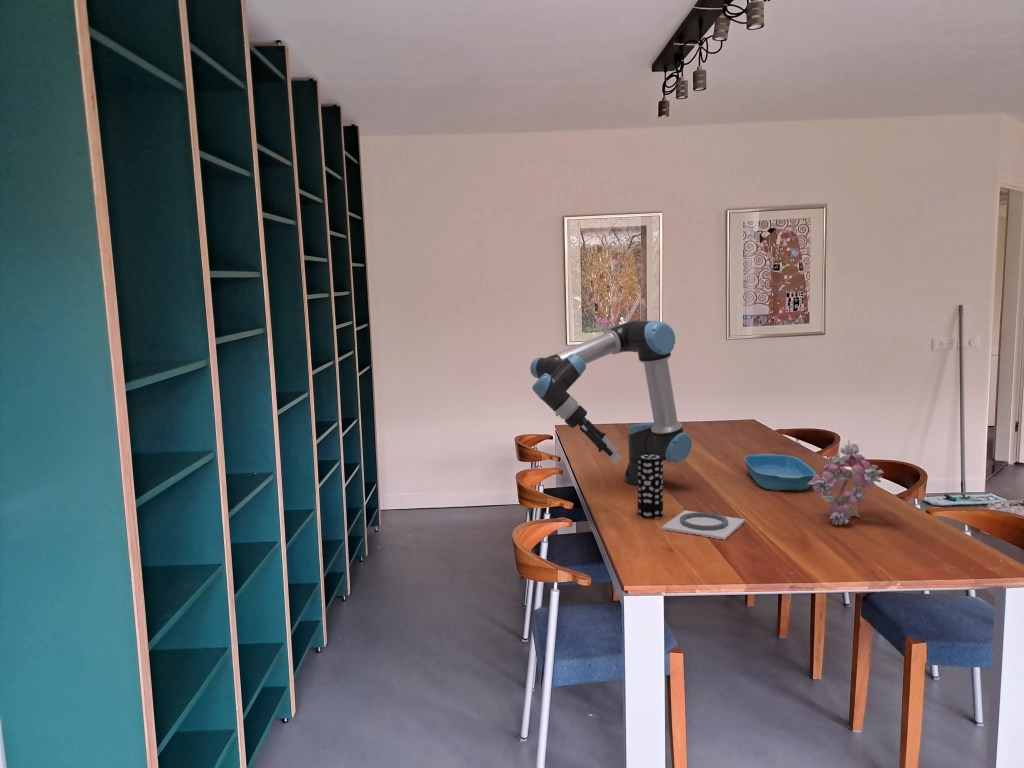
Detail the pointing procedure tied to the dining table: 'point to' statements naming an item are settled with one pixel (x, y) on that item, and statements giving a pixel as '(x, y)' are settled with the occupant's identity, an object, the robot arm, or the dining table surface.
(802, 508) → the dining table surface
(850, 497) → the flower
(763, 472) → the casserole dish
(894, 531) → the dining table surface
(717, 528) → the ring dock
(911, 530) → the dining table surface
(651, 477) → the spotted tube
